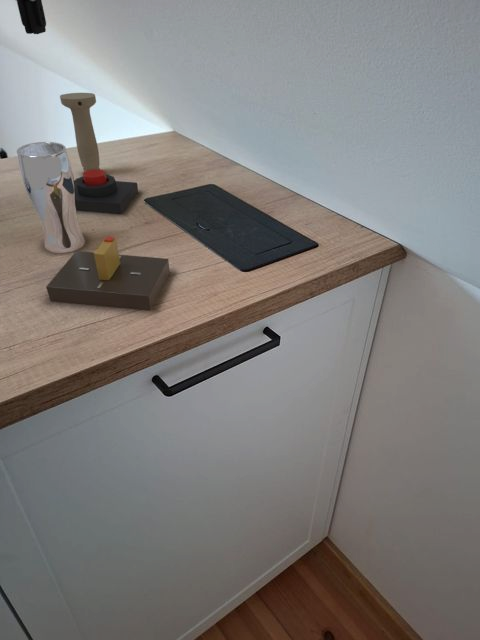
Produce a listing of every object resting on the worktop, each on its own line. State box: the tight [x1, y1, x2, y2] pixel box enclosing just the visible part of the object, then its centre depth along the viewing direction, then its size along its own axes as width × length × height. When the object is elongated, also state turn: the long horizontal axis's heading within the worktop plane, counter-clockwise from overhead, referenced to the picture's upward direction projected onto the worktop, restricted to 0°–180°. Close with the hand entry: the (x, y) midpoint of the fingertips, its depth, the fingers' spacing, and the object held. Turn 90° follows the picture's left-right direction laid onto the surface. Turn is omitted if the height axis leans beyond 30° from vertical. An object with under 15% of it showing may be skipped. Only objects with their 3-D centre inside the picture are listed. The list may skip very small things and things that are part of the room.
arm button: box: [82, 169, 107, 186], centre depth 89 cm, size 4×4×2 cm
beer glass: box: [16, 141, 86, 254], centre depth 74 cm, size 7×7×15 cm
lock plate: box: [45, 250, 171, 312], centre depth 69 cm, size 14×10×3 cm
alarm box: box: [74, 173, 139, 215], centre depth 91 cm, size 12×10×4 cm
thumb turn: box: [94, 236, 120, 280], centre depth 67 cm, size 5×1×4 cm, turn 173°
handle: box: [59, 92, 101, 173], centre depth 98 cm, size 5×6×15 cm
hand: (36, 32), depth 73 cm, fingers closed
